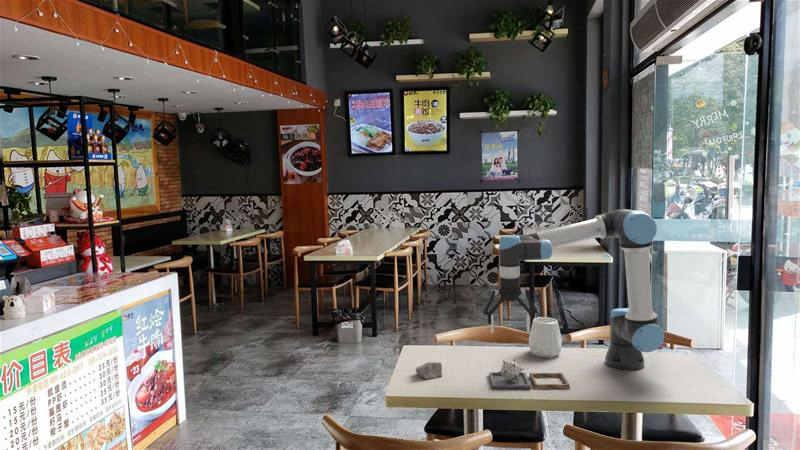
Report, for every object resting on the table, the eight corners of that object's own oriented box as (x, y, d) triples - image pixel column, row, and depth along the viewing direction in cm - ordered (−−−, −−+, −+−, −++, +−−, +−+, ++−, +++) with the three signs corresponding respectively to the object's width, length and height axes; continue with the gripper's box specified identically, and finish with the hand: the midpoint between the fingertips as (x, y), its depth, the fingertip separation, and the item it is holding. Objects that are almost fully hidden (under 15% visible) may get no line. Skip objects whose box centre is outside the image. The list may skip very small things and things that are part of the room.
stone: (437, 371, 244) (437, 357, 243) (444, 378, 236) (444, 364, 236) (414, 374, 242) (414, 359, 241) (420, 381, 234) (419, 366, 233)
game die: (514, 391, 229) (523, 376, 223) (493, 382, 231) (501, 367, 224) (519, 373, 236) (527, 358, 229) (499, 365, 237) (506, 350, 231)
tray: (524, 375, 237) (524, 372, 237) (531, 389, 223) (531, 385, 223) (489, 375, 238) (489, 372, 238) (492, 389, 224) (492, 385, 224)
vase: (529, 358, 258) (529, 323, 256) (527, 348, 271) (528, 315, 270) (563, 359, 255) (563, 324, 254) (560, 349, 269) (560, 316, 267)
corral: (562, 376, 236) (562, 372, 236) (569, 388, 223) (569, 384, 223) (529, 376, 236) (529, 372, 236) (535, 388, 224) (535, 384, 224)
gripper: (541, 274, 229) (541, 328, 231) (475, 275, 230) (476, 329, 233) (545, 277, 222) (545, 334, 224) (477, 279, 223) (478, 335, 225)
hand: (510, 331), depth 228 cm, fingers open, 13 cm apart
